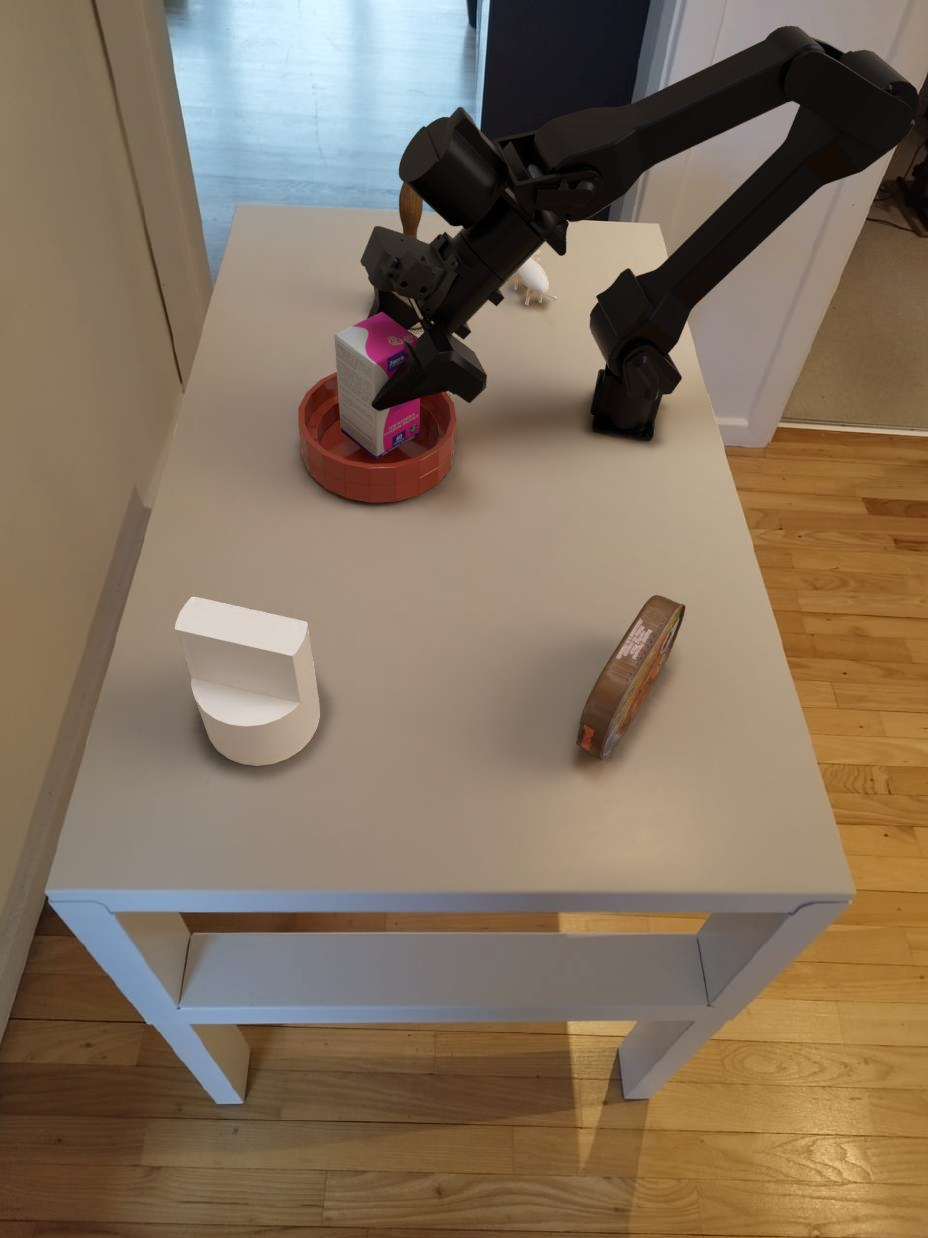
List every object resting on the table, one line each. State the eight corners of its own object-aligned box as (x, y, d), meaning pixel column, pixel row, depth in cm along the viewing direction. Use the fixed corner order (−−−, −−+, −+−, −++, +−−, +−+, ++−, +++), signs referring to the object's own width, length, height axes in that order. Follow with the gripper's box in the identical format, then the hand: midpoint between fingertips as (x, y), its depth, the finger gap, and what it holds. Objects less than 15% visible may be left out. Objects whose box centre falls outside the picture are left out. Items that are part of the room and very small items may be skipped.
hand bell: (402, 280, 108) (402, 146, 95) (457, 306, 105) (464, 172, 93) (358, 310, 104) (352, 174, 91) (414, 338, 101) (416, 202, 88)
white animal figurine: (493, 276, 110) (496, 240, 106) (532, 270, 111) (536, 233, 107) (532, 332, 103) (537, 295, 99) (573, 324, 104) (579, 287, 101)
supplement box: (377, 462, 85) (372, 363, 76) (339, 431, 87) (329, 332, 78) (422, 436, 87) (422, 337, 78) (384, 406, 90) (380, 307, 81)
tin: (597, 780, 68) (618, 725, 62) (561, 760, 69) (578, 703, 62) (674, 649, 76) (700, 587, 70) (641, 632, 77) (664, 570, 70)
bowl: (466, 417, 93) (469, 378, 89) (435, 518, 84) (437, 480, 80) (328, 392, 94) (325, 353, 90) (282, 490, 85) (276, 451, 81)
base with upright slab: (335, 681, 72) (325, 590, 63) (298, 777, 67) (281, 693, 57) (231, 658, 73) (206, 564, 64) (186, 751, 68) (151, 663, 58)
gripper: (388, 144, 75) (276, 280, 81) (456, 262, 64) (321, 408, 71) (471, 221, 83) (363, 339, 89) (543, 337, 72) (415, 462, 79)
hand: (364, 382), depth 82 cm, fingers closed on supplement box, 7 cm apart
